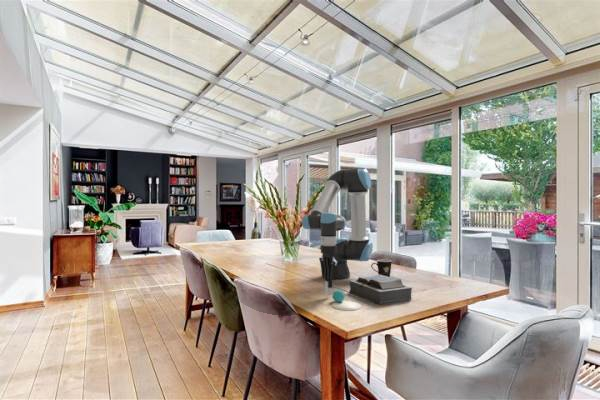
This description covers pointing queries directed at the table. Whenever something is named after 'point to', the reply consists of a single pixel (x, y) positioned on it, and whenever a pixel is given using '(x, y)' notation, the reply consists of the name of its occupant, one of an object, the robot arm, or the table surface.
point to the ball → (338, 296)
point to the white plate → (346, 305)
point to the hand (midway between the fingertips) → (328, 294)
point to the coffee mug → (383, 267)
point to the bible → (381, 289)
